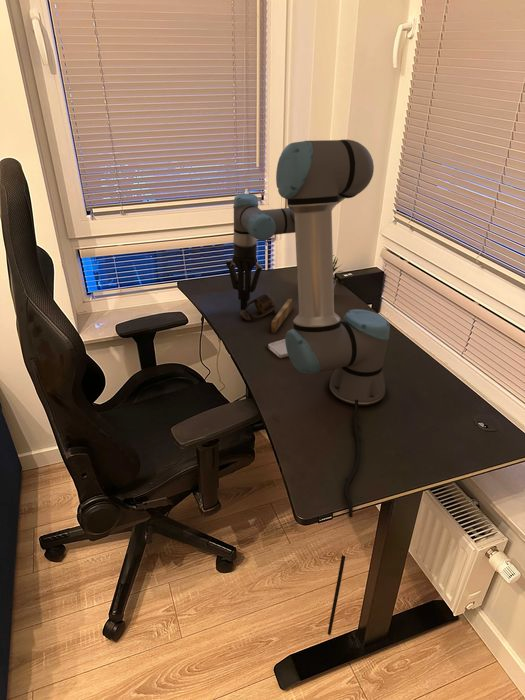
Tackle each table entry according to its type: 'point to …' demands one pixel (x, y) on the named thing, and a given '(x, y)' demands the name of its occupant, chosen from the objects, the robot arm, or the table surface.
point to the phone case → (279, 348)
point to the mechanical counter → (260, 307)
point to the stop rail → (281, 316)
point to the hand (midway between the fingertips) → (243, 308)
